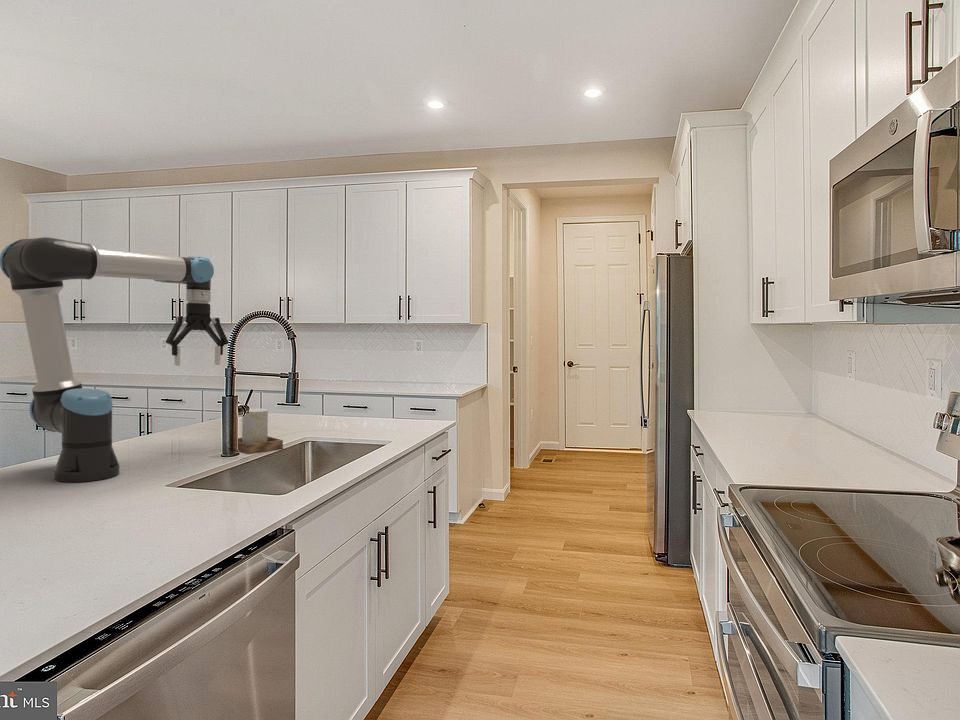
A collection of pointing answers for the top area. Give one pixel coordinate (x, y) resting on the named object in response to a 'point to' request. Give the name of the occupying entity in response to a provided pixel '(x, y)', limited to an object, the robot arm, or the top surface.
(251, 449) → the wooden tray
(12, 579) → the top surface
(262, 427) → the light grey upright block
